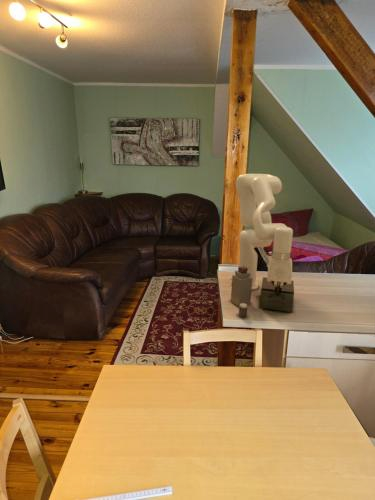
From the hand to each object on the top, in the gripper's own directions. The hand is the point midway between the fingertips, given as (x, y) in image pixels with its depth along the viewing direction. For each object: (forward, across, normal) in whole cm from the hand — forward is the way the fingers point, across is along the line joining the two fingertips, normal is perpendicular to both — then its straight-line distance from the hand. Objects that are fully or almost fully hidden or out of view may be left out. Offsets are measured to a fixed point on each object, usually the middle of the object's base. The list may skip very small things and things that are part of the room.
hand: (277, 294), depth 148 cm
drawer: (+8, 0, +6) cm, 11 cm away
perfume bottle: (+9, -17, +7) cm, 20 cm away
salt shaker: (+9, -14, -7) cm, 18 cm away
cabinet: (+9, 0, +11) cm, 14 cm away
